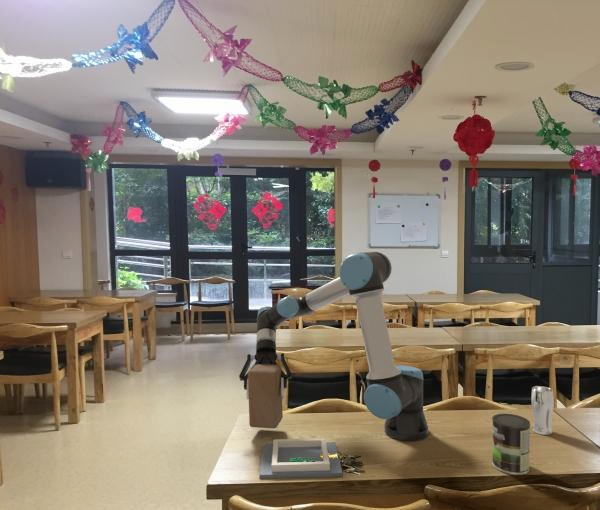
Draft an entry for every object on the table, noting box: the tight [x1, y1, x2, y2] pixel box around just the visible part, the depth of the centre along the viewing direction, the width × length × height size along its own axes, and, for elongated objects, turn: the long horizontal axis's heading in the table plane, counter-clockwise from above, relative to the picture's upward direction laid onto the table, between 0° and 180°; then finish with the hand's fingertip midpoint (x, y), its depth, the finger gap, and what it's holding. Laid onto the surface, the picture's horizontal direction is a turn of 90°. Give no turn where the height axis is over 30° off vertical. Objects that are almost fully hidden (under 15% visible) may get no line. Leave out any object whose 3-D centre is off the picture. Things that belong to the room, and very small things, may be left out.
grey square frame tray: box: [259, 437, 343, 479], centre depth 144 cm, size 24×20×3 cm
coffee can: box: [491, 413, 531, 476], centre depth 138 cm, size 10×10×14 cm
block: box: [247, 364, 284, 430], centre depth 164 cm, size 10×10×20 cm
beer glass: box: [530, 385, 555, 436], centre depth 162 cm, size 7×7×15 cm
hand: (265, 397), depth 162 cm, fingers closed on block, 11 cm apart
